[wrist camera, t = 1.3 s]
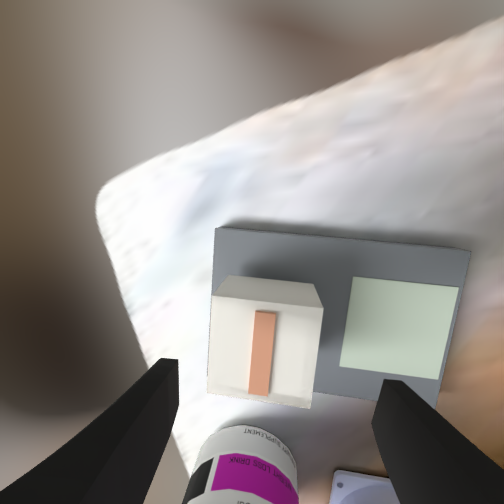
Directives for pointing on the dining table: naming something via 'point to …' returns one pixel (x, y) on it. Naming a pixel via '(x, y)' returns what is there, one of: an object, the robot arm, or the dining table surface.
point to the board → (361, 303)
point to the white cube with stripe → (264, 340)
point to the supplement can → (243, 469)
